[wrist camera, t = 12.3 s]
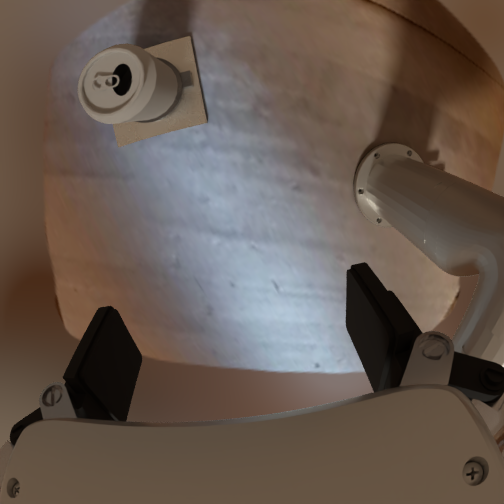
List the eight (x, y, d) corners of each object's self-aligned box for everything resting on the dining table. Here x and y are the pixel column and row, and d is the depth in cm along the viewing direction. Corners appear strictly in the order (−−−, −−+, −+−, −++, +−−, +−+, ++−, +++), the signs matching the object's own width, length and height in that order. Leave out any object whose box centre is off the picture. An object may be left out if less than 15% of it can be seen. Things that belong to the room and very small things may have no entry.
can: (180, 115, 30) (153, 116, 20) (122, 124, 30) (73, 133, 19) (178, 56, 27) (150, 30, 16) (119, 67, 27) (70, 53, 16)
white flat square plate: (190, 37, 28) (188, 32, 25) (207, 122, 33) (205, 123, 31) (104, 65, 28) (96, 63, 26) (120, 146, 33) (113, 149, 31)
